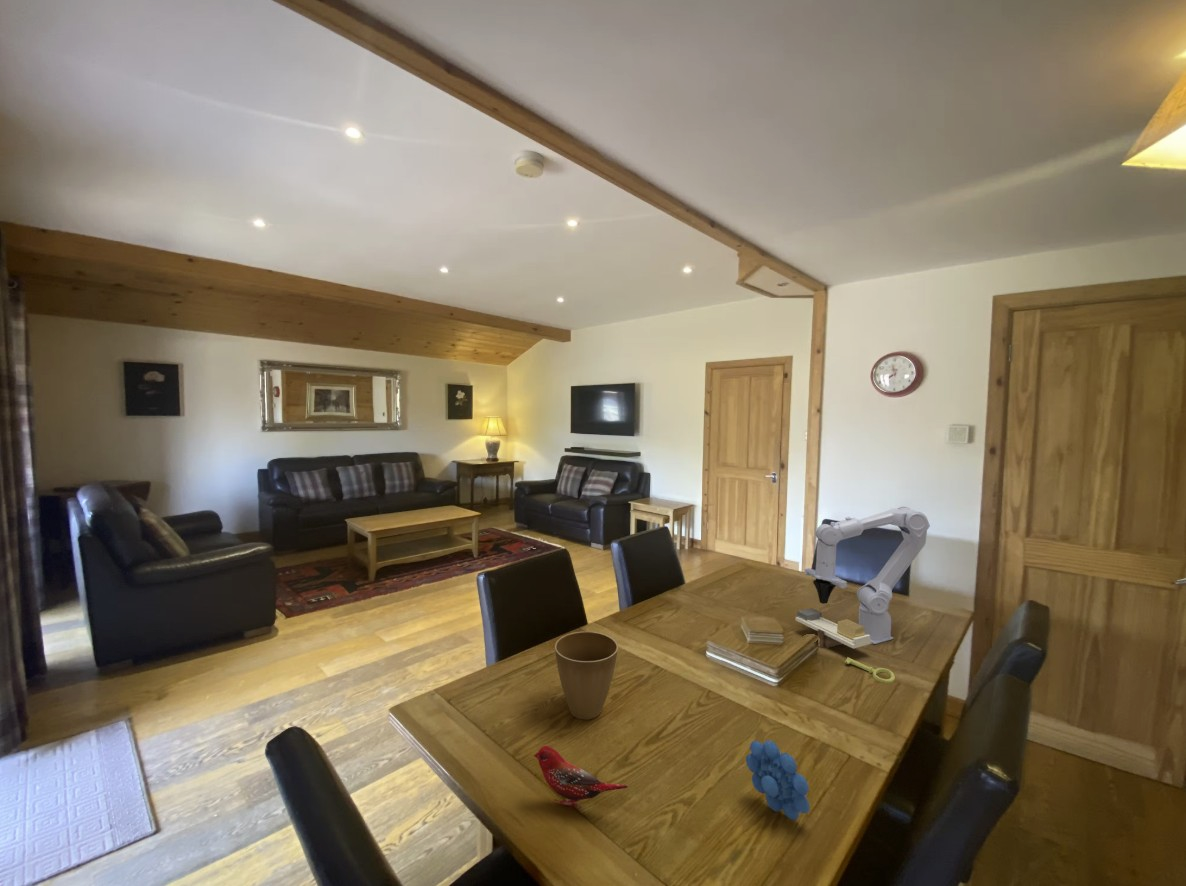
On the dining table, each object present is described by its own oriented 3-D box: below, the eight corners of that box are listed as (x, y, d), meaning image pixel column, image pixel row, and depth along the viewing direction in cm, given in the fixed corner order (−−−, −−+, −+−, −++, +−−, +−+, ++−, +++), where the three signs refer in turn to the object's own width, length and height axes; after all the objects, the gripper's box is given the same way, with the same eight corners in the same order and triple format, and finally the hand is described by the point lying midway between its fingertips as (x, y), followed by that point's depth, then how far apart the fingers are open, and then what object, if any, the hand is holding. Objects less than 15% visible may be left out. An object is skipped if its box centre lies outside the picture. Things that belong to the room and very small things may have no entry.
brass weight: (836, 634, 148) (837, 621, 148) (846, 631, 150) (847, 619, 150) (854, 642, 143) (855, 629, 143) (864, 640, 145) (865, 626, 144)
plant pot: (545, 700, 120) (546, 637, 119) (601, 688, 125) (602, 627, 125) (566, 737, 106) (567, 665, 105) (627, 721, 112) (629, 653, 111)
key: (844, 663, 141) (845, 656, 141) (894, 675, 135) (895, 667, 135) (843, 674, 135) (843, 666, 135) (895, 687, 129) (895, 679, 129)
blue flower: (733, 804, 88) (735, 740, 87) (751, 785, 93) (753, 724, 92) (797, 845, 80) (800, 774, 79) (814, 822, 84) (816, 755, 84)
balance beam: (795, 620, 160) (795, 611, 160) (812, 616, 164) (813, 607, 164) (853, 648, 141) (853, 638, 141) (871, 643, 145) (872, 633, 145)
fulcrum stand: (815, 644, 152) (815, 628, 152) (838, 638, 156) (838, 623, 156) (823, 648, 149) (824, 632, 149) (846, 642, 154) (847, 626, 153)
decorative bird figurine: (536, 791, 91) (536, 738, 90) (629, 814, 85) (630, 759, 85) (529, 802, 88) (530, 748, 87) (625, 827, 83) (626, 770, 82)
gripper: (799, 556, 164) (796, 596, 164) (836, 569, 150) (834, 612, 151) (813, 554, 167) (811, 593, 167) (852, 567, 153) (849, 609, 154)
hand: (823, 602), depth 159 cm, fingers closed
